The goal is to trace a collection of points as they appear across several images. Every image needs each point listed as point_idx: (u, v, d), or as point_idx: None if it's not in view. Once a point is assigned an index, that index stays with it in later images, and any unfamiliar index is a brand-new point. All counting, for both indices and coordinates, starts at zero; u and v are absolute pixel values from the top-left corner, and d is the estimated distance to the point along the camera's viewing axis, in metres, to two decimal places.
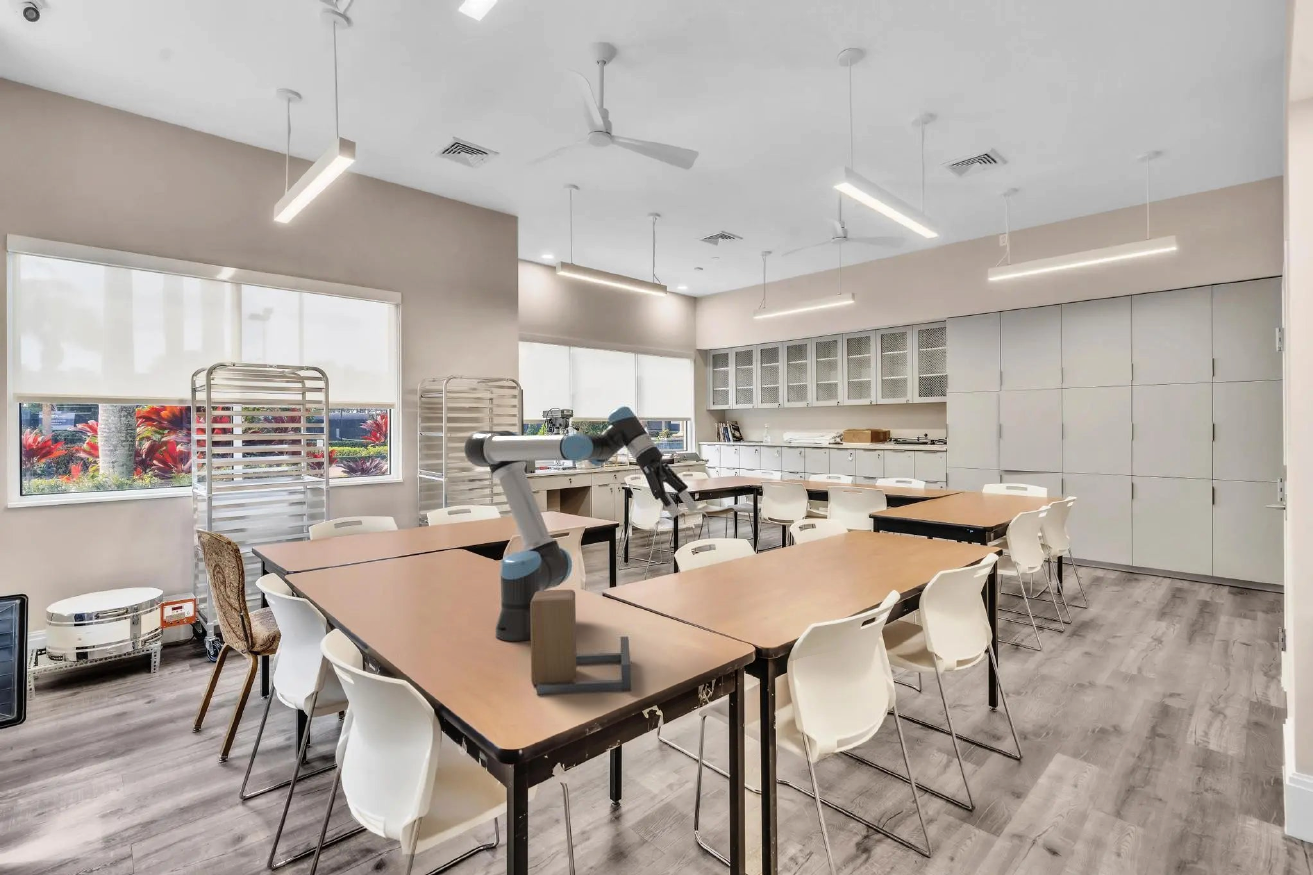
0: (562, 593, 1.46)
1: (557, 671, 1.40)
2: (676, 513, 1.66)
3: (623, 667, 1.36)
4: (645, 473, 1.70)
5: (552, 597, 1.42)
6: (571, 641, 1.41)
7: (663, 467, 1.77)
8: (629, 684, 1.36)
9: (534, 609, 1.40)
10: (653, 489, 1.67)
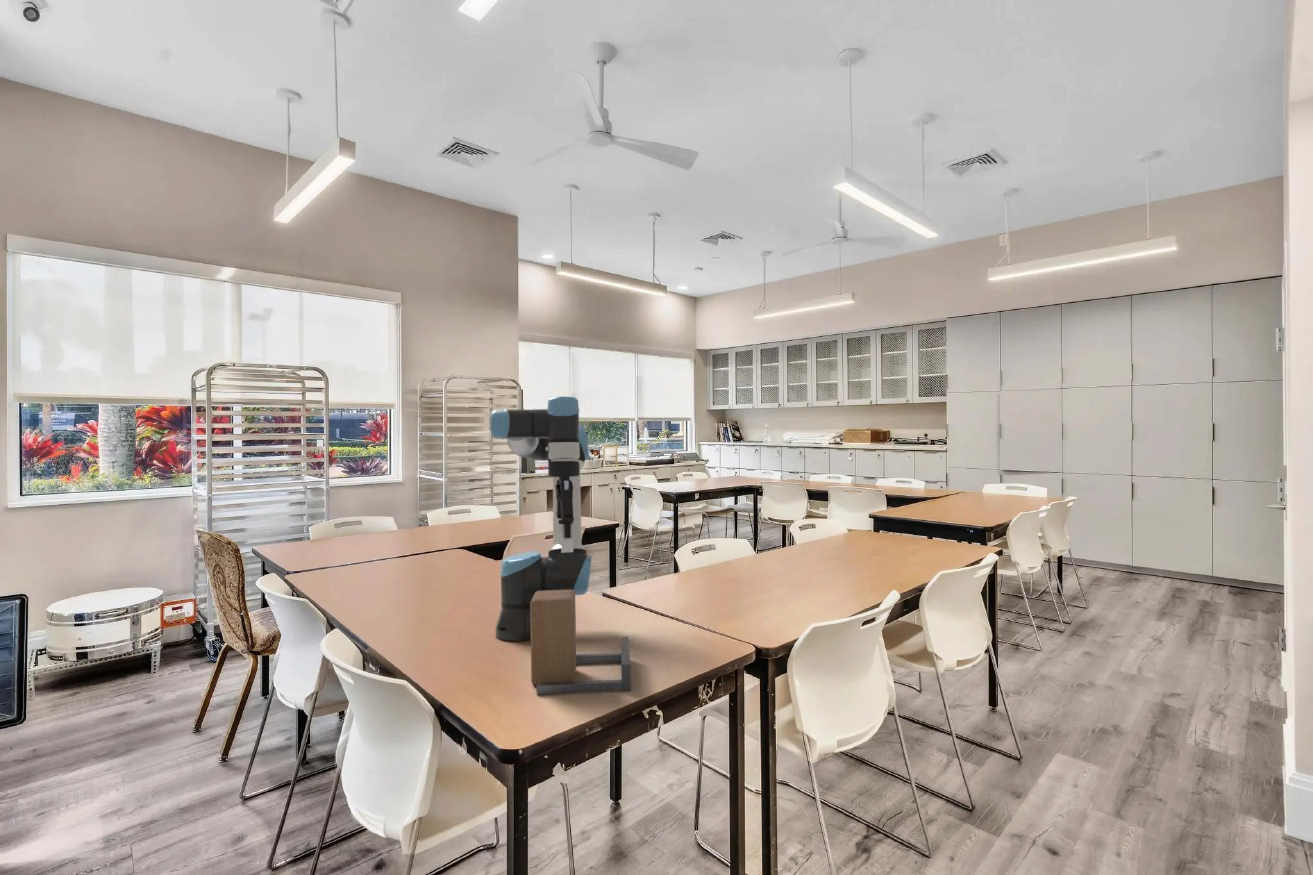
0: (562, 593, 1.46)
1: (557, 671, 1.40)
2: None
3: (623, 667, 1.36)
4: None
5: (552, 597, 1.42)
6: (571, 641, 1.41)
7: None
8: (629, 684, 1.36)
9: (534, 609, 1.40)
10: None
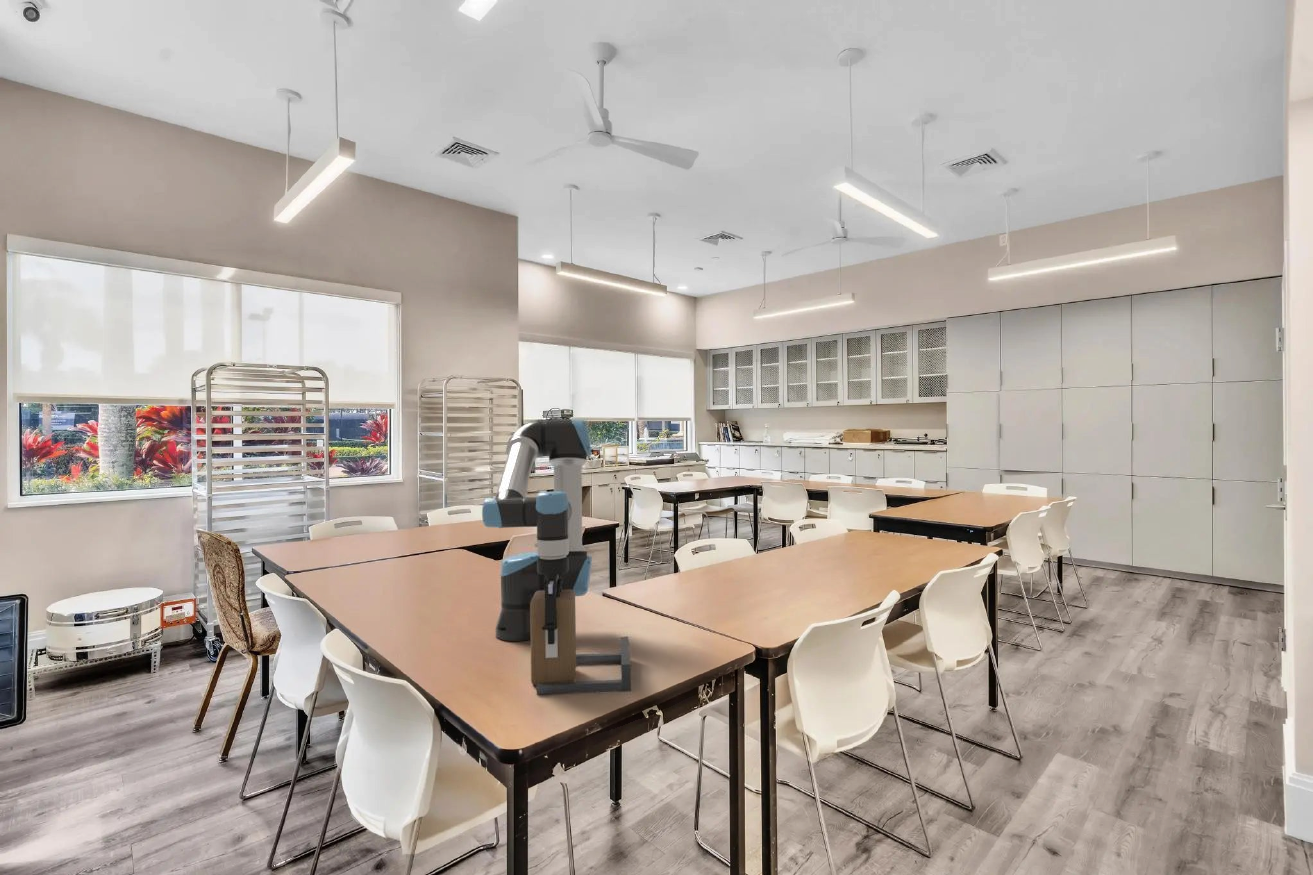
0: (562, 593, 1.46)
1: (557, 671, 1.40)
2: None
3: (623, 667, 1.36)
4: None
5: None
6: (571, 641, 1.41)
7: None
8: (629, 684, 1.36)
9: (534, 609, 1.40)
10: None
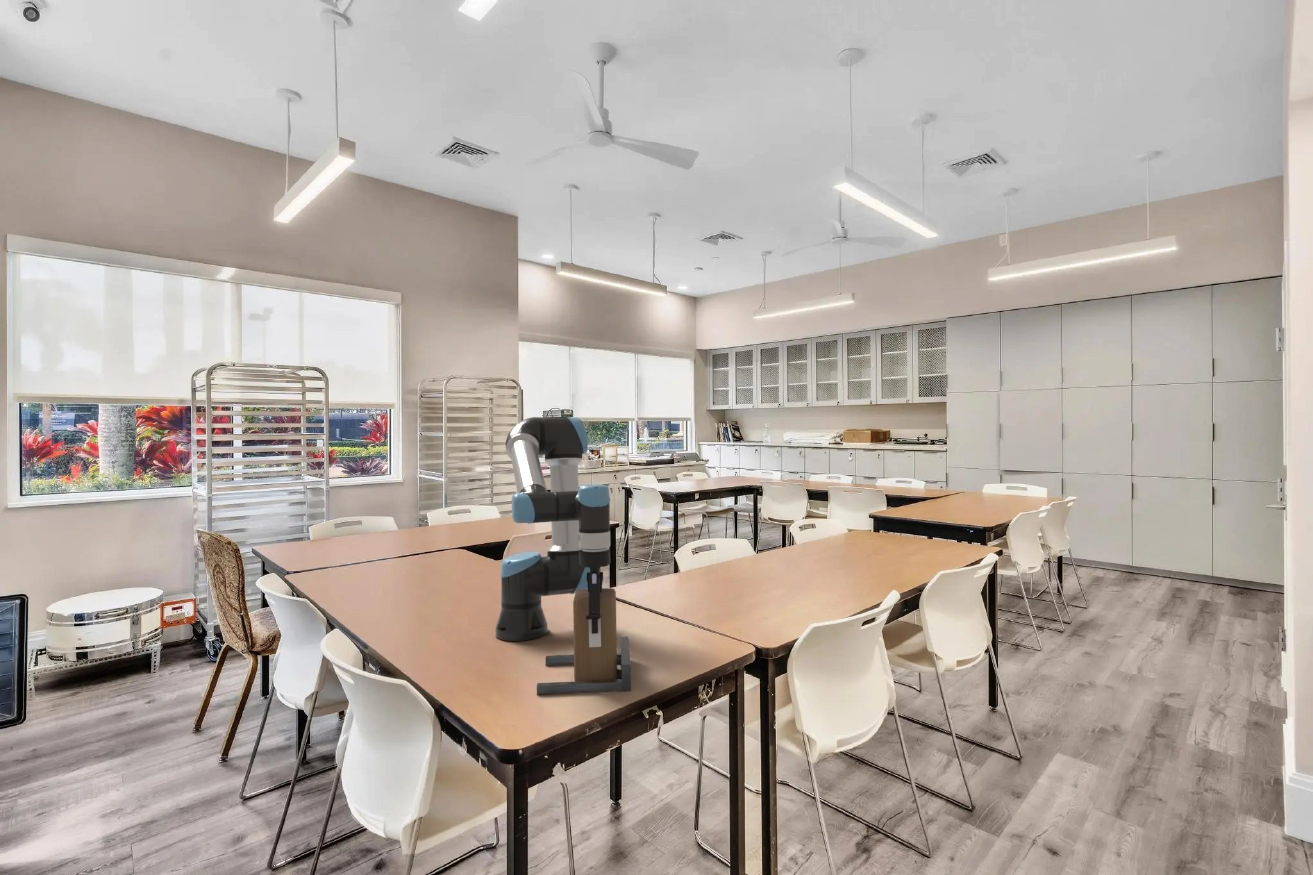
0: (603, 592, 1.46)
1: (600, 669, 1.41)
2: None
3: (623, 667, 1.36)
4: None
5: None
6: (614, 639, 1.41)
7: None
8: (629, 684, 1.36)
9: (577, 608, 1.41)
10: None
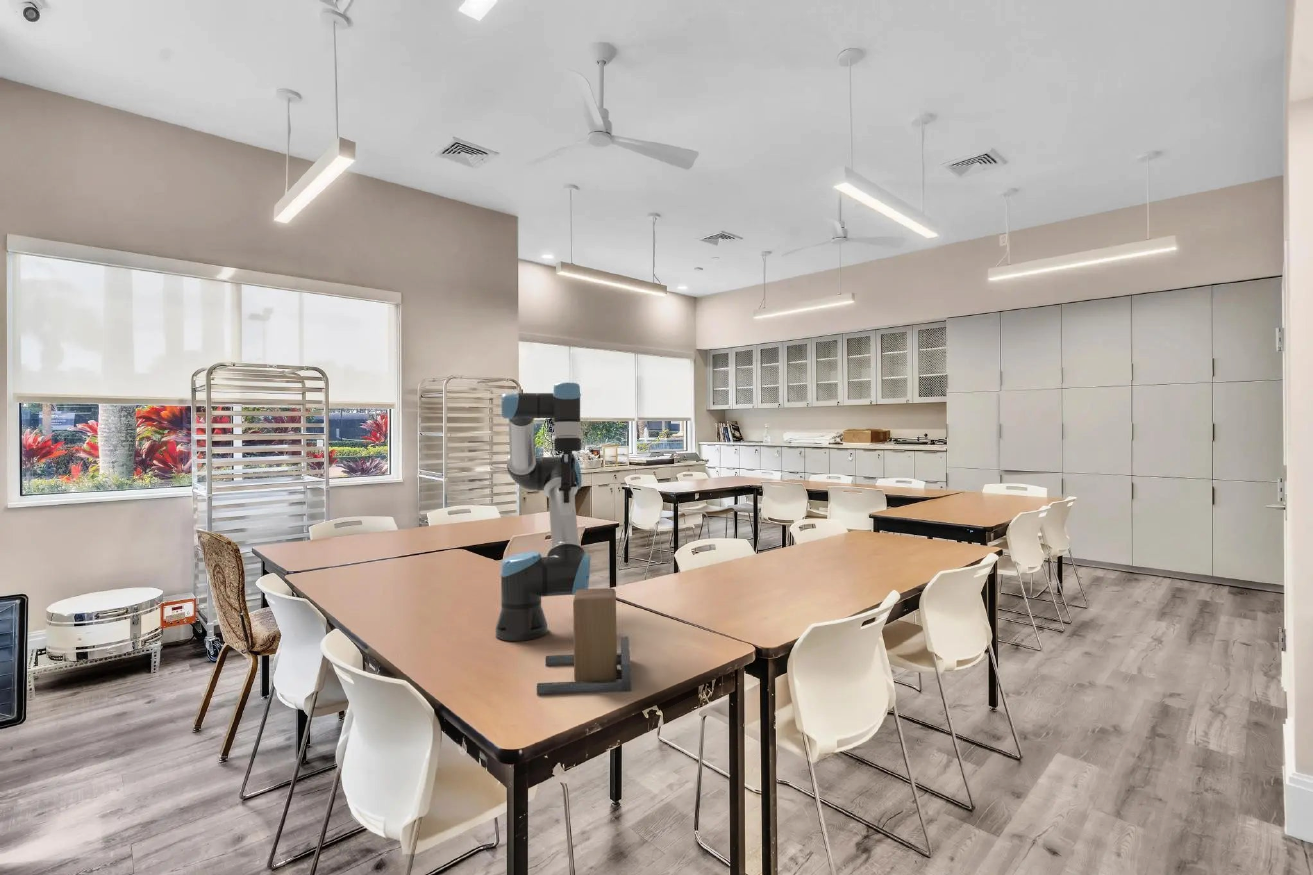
0: (603, 592, 1.46)
1: (600, 669, 1.41)
2: None
3: (623, 667, 1.36)
4: None
5: (594, 596, 1.43)
6: (614, 639, 1.41)
7: None
8: (629, 684, 1.36)
9: (577, 608, 1.41)
10: None
